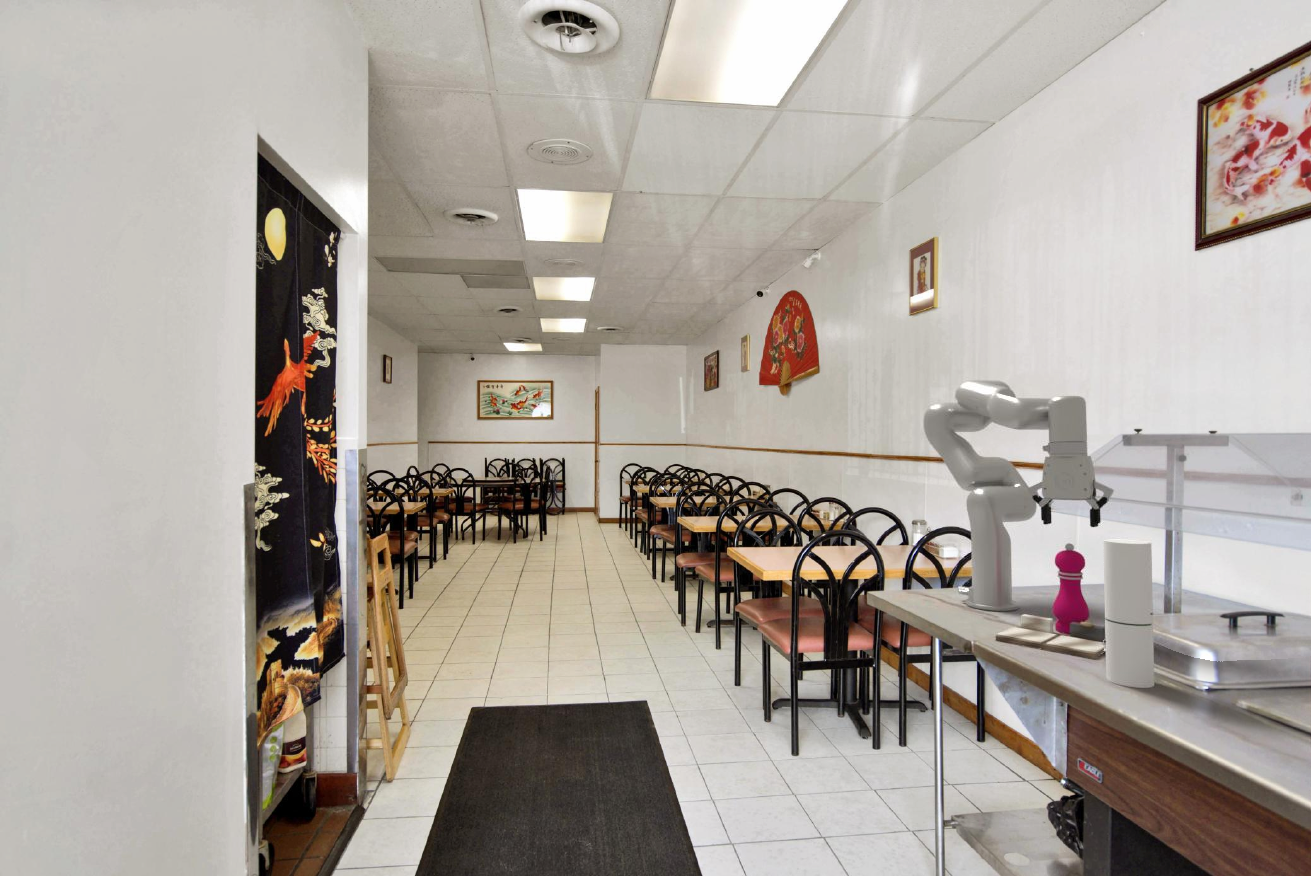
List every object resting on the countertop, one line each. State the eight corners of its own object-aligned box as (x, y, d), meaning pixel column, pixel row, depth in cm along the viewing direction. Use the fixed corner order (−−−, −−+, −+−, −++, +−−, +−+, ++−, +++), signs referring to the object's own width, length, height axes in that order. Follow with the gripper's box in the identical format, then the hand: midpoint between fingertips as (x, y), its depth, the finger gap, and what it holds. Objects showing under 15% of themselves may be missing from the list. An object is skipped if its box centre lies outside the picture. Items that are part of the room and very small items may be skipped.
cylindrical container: (1158, 681, 125) (1155, 541, 126) (1148, 690, 120) (1145, 544, 121) (1112, 672, 130) (1109, 537, 131) (1101, 681, 125) (1098, 541, 126)
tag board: (995, 640, 152) (995, 620, 153) (1018, 630, 161) (1017, 611, 161) (1094, 659, 138) (1094, 636, 138) (1113, 647, 146) (1113, 626, 146)
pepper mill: (1096, 635, 156) (1095, 545, 156) (1064, 635, 156) (1062, 545, 156) (1077, 627, 163) (1076, 541, 163) (1046, 627, 163) (1045, 541, 163)
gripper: (1021, 450, 164) (1023, 524, 163) (1106, 449, 151) (1108, 529, 151) (1034, 450, 169) (1036, 522, 168) (1116, 449, 156) (1119, 526, 156)
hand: (1070, 525), depth 159 cm, fingers open, 9 cm apart
